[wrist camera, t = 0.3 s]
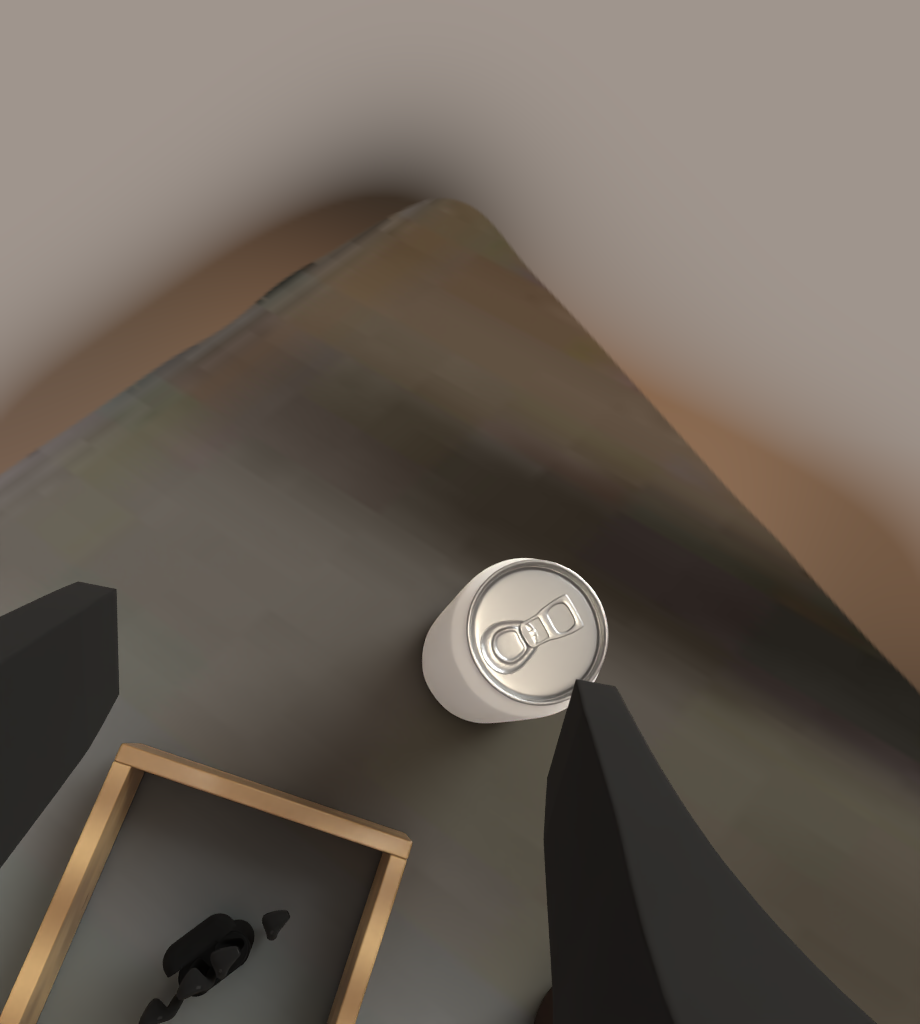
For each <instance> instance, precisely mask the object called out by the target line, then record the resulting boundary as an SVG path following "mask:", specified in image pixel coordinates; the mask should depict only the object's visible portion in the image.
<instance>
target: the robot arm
mask: <svg viewBox="0 0 920 1024" xmlns="http://www.w3.org/2000/svg"><path fill="white" fill-rule="evenodd" d="M118 695H119V669H118V631H117V593H116V589H113V588H108V587H103V586H98V585H93V584H88V583H83V582H76V583H73V584H71V585H68V586H66V587H63V588H61V589H59V590H57V591H54V592H52V593H50V594H48V595H46V596H43V597H41V598H39V599H37V600H35V601H33V602H31V603H28V604H26V605H24V606H22V607H20V608H18V609H16V610H14V611H12V612H9V613H7V614H5V615H3V616H1V617H0V868H1V866H2V865H3V864H4V862H5V861H6V860H7V858H8V857H9V856H10V854H11V853H12V852H13V850H14V849H15V848H16V846H17V845H18V844H19V842H20V841H21V840H22V838H23V837H24V836H25V834H26V833H27V832H28V830H29V829H30V828H31V826H32V825H33V824H34V822H35V821H36V820H37V818H38V817H39V816H40V814H41V813H42V812H43V810H44V809H45V808H46V806H47V805H48V804H49V802H50V801H51V800H52V798H53V797H54V796H55V794H56V793H57V792H58V790H59V789H60V788H61V786H62V785H63V784H64V782H65V781H66V780H67V778H68V777H69V775H70V774H71V773H72V771H73V770H74V769H75V767H76V766H77V765H78V763H79V762H80V760H81V759H82V758H83V756H84V755H85V753H86V752H87V751H88V749H89V747H90V746H91V744H92V742H93V740H94V739H95V737H96V735H97V733H98V732H99V730H100V728H101V727H102V725H103V723H104V721H105V719H106V717H107V715H108V714H109V712H110V710H111V708H112V706H113V704H114V702H115V701H116V699H117V697H118ZM544 855H545V873H546V890H547V906H548V922H549V939H550V955H551V971H552V991H553V1024H877V1023H876V1022H874V1021H873V1020H872V1019H871V1018H870V1017H869V1016H868V1015H867V1014H866V1013H865V1012H864V1011H863V1010H861V1009H860V1008H859V1007H858V1006H857V1005H856V1004H855V1003H854V1002H853V1001H852V1000H851V999H849V998H848V997H847V996H846V995H845V994H844V993H843V992H842V991H841V990H840V989H839V988H838V987H837V986H836V985H835V984H834V983H833V982H832V981H831V980H830V979H829V978H828V977H827V976H826V975H825V974H824V973H823V972H822V971H820V970H819V969H818V968H817V967H816V966H815V965H814V964H813V963H812V961H811V960H810V959H809V958H808V957H807V956H806V955H805V954H804V953H803V952H802V951H801V950H800V949H799V948H798V947H797V946H796V945H795V944H794V942H793V941H792V940H791V939H790V938H789V937H788V936H787V935H786V934H785V933H784V932H783V931H782V930H781V929H780V928H779V927H778V926H777V924H776V923H775V922H774V921H773V920H772V919H771V918H770V917H769V915H768V914H767V913H766V912H765V911H764V910H763V909H762V908H761V906H760V905H759V904H758V903H757V902H756V901H755V899H754V898H753V897H752V896H751V894H750V893H749V892H748V891H747V890H746V888H745V887H744V886H743V885H742V883H741V882H740V881H739V880H738V879H737V877H736V876H735V875H734V874H733V872H732V871H731V870H730V869H729V868H728V866H727V865H726V864H725V863H724V861H723V860H722V859H721V857H720V856H719V855H718V853H717V852H716V851H715V849H714V848H713V847H712V845H711V844H710V842H709V841H708V840H707V838H706V837H705V835H704V834H703V832H702V831H701V829H700V828H699V827H698V825H697V824H696V822H695V821H694V819H693V818H692V816H691V815H690V813H689V812H688V810H687V809H686V807H685V806H684V804H683V803H682V801H681V800H680V798H679V796H678V795H677V793H676V792H675V790H674V788H673V787H672V785H671V783H670V782H669V780H668V779H667V777H666V775H665V774H664V772H663V770H662V769H661V767H660V766H659V764H658V762H657V760H656V759H655V757H654V755H653V754H652V752H651V750H650V748H649V746H648V745H647V743H646V741H645V739H644V737H643V736H642V734H641V732H640V730H639V728H638V727H637V725H636V723H635V721H634V719H633V717H632V715H631V714H630V712H629V710H628V708H627V706H626V704H625V702H624V700H623V698H622V697H621V695H620V693H619V692H618V690H617V688H616V687H615V686H610V685H605V684H600V683H595V682H589V681H584V680H579V679H576V680H575V684H574V687H573V691H572V694H571V698H570V701H569V705H568V708H567V712H566V715H565V719H564V722H563V725H562V729H561V732H560V736H559V739H558V743H557V746H556V750H555V753H554V757H553V760H552V764H551V767H550V770H549V774H548V777H547V791H546V806H545V824H544Z"/></svg>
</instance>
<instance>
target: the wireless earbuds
mask: <svg viewBox="0 0 920 1024" xmlns="http://www.w3.org/2000/svg"><path fill="white" fill-rule="evenodd" d="M289 918H290V915H289V912H288V911H287V910H278V911H274V912H270V913H267V914H266V915H264V916H263V918H262V924H263V926H264V929H265V931H266V934H267V938H268V939H269V940H274V939H276V937H277V934H278V932H279V931H280V929H281V928H282V927H283V926H284V925H285V923H286V922H287V921H288V920H289ZM253 942H254V931H253V929H252V927H251V925H250V924H249V923H248V922H246V921H243V920H234V921H233V919H232V918H231V917H229V916H228V915H226V914H214V915H212V916H210V917H208V918H207V919H206V920H204V921H203V922H202V923H200V924H199V925H198V926H196V927H195V928H194V929H192V930H191V931H190V932H188V933H187V934H185V935H184V936H183V937H181V938H180V939H179V940H177V941H176V942H175V943H173V944H172V945H171V946H170V947H169V948H168V950H167V951H166V953H165V955H164V959H163V968H164V971H165V974H166V975H167V977H170V976H172V975H174V974H175V973H177V972H178V971H179V970H180V972H179V976H178V982H179V988H178V991H177V994H176V995H175V996H174V997H173V999H172V1000H171V1002H170V1004H169V1005H168V1007H166V1006H165V1005H164V1004H163V1002H162V1001H161V1000H160V999H157V998H156V999H153V1000H152V1001H151V1002H150V1003H149V1004H148V1006H147V1007H146V1009H145V1011H144V1012H143V1014H142V1016H141V1018H140V1021H139V1024H159V1023H162V1022H165V1021H168V1020H170V1019H172V1018H173V1017H174V1016H175V1015H176V1013H177V1011H178V1009H179V1008H180V1006H181V1004H182V1002H183V1000H184V999H186V998H188V997H190V996H195V997H196V996H201V995H203V994H205V993H206V992H207V991H208V990H210V989H211V988H212V987H214V986H215V985H216V984H217V983H219V982H220V981H221V980H223V979H224V978H225V977H227V976H228V975H229V974H230V973H232V972H233V971H234V970H236V969H237V968H238V967H240V966H241V965H242V964H244V962H245V961H246V960H247V958H248V956H249V953H250V950H251V947H252V945H253Z"/></svg>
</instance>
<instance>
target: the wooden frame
mask: <svg viewBox="0 0 920 1024" xmlns="http://www.w3.org/2000/svg"><path fill="white" fill-rule="evenodd" d="M144 772H148V773H151V774H154V775H157V776H160V777H163V778H166V779H169V780H172V781H175V782H178V783H181V784H184V785H187V786H190V787H193V788H196V789H199V790H201V791H204V792H207V793H210V794H213V795H216V796H219V797H222V798H225V799H228V800H231V801H234V802H237V803H240V804H243V805H246V806H249V807H252V808H255V809H258V810H261V811H264V812H267V813H270V814H273V815H276V816H279V817H282V818H285V819H287V820H290V821H293V822H296V823H299V824H302V825H305V826H308V827H311V828H314V829H317V830H320V831H323V832H326V833H329V834H332V835H335V836H338V837H341V838H344V839H347V840H350V841H353V842H356V843H359V844H362V845H365V846H368V847H371V848H373V849H376V850H379V851H382V852H383V853H382V856H381V859H380V862H379V865H378V868H377V872H376V875H375V878H374V881H373V884H372V887H371V890H370V893H369V896H368V899H367V902H366V905H365V908H364V911H363V914H362V917H361V920H360V923H359V926H358V929H357V932H356V935H355V938H354V941H353V944H352V947H351V950H350V953H349V957H348V960H347V963H346V966H345V969H344V972H343V975H342V978H341V981H340V984H339V987H338V990H337V993H336V996H335V999H334V1002H333V1005H332V1008H331V1011H330V1014H329V1017H328V1020H327V1023H326V1024H355V1022H356V1019H357V1016H358V1013H359V1010H360V1006H361V1003H362V1000H363V997H364V994H365V991H366V988H367V984H368V981H369V978H370V975H371V972H372V969H373V966H374V963H375V959H376V956H377V953H378V950H379V947H380V944H381V941H382V938H383V934H384V931H385V928H386V925H387V922H388V919H389V916H390V912H391V909H392V906H393V903H394V900H395V897H396V894H397V891H398V887H399V884H400V881H401V878H402V875H403V872H404V869H405V865H406V862H407V860H406V859H407V858H408V856H409V853H410V850H411V847H412V844H413V843H412V841H411V840H410V839H409V837H408V836H407V835H406V834H405V833H403V832H400V831H397V830H394V829H391V828H389V827H386V826H383V825H380V824H377V823H374V822H371V821H368V820H365V819H362V818H359V817H356V816H353V815H350V814H347V813H344V812H341V811H338V810H335V809H333V808H330V807H327V806H324V805H321V804H318V803H315V802H312V801H309V800H306V799H303V798H300V797H297V796H294V795H291V794H288V793H285V792H282V791H279V790H277V789H274V788H271V787H268V786H265V785H262V784H259V783H256V782H253V781H250V780H247V779H244V778H241V777H238V776H235V775H232V774H229V773H226V772H223V771H220V770H218V769H215V768H212V767H209V766H206V765H203V764H200V763H197V762H194V761H191V760H188V759H185V758H182V757H179V756H176V755H173V754H170V753H167V752H164V751H162V750H159V749H156V748H153V747H150V746H147V745H144V744H141V743H124V744H121V746H120V748H119V750H118V753H117V755H116V757H115V761H114V762H113V764H112V766H111V768H110V770H109V773H108V775H107V777H106V779H105V782H104V784H103V786H102V788H101V791H100V793H99V795H98V797H97V800H96V802H95V804H94V806H93V809H92V811H91V813H90V815H89V818H88V820H87V822H86V824H85V827H84V829H83V831H82V833H81V836H80V838H79V840H78V842H77V845H76V847H75V849H74V851H73V854H72V856H71V858H70V860H69V863H68V865H67V867H66V869H65V872H64V874H63V876H62V878H61V881H60V883H59V885H58V887H57V890H56V892H55V894H54V896H53V899H52V901H51V903H50V905H49V908H48V910H47V912H46V914H45V917H44V919H43V921H42V923H41V926H40V928H39V930H38V932H37V935H36V937H35V939H34V941H33V944H32V946H31V948H30V950H29V953H28V955H27V957H26V959H25V962H24V964H23V966H22V968H21V971H20V973H19V975H18V977H17V980H16V982H15V984H14V986H13V989H12V991H11V993H10V995H9V998H8V1000H7V1002H6V1004H5V1007H4V1009H3V1011H2V1013H1V1016H0V1024H36V1023H37V1021H38V1018H39V1016H40V1014H41V1011H42V1009H43V1007H44V1004H45V1002H46V1000H47V997H48V995H49V993H50V990H51V988H52V986H53V983H54V981H55V979H56V976H57V974H58V972H59V970H60V967H61V965H62V963H63V960H64V958H65V956H66V953H67V951H68V949H69V946H70V944H71V942H72V939H73V937H74V935H75V932H76V930H77V928H78V925H79V923H80V921H81V918H82V916H83V914H84V911H85V909H86V907H87V904H88V902H89V900H90V898H91V895H92V893H93V891H94V888H95V886H96V884H97V881H98V879H99V877H100V874H101V872H102V870H103V867H104V865H105V863H106V860H107V858H108V856H109V853H110V851H111V849H112V846H113V844H114V842H115V839H116V837H117V835H118V832H119V830H120V828H121V826H122V823H123V821H124V819H125V816H126V814H127V812H128V809H129V807H130V805H131V802H132V800H133V798H134V795H135V793H136V791H137V788H138V786H139V784H140V781H141V779H142V777H143V774H144Z"/></svg>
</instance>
